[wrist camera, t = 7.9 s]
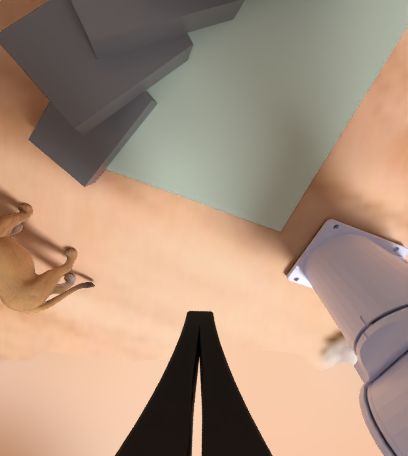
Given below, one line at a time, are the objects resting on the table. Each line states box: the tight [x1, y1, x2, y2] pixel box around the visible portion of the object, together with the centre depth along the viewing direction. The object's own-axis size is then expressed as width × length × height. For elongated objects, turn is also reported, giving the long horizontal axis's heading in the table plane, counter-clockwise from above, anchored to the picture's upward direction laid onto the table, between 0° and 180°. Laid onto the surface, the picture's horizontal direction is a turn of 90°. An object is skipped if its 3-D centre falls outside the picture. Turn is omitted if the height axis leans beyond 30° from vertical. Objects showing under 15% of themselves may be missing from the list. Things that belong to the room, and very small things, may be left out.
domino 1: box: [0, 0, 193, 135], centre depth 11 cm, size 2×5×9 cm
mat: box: [106, 0, 408, 232], centre depth 13 cm, size 18×23×1 cm
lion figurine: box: [0, 204, 95, 313], centre depth 17 cm, size 15×5×9 cm, turn 37°
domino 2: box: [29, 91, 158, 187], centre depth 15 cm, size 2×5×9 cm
